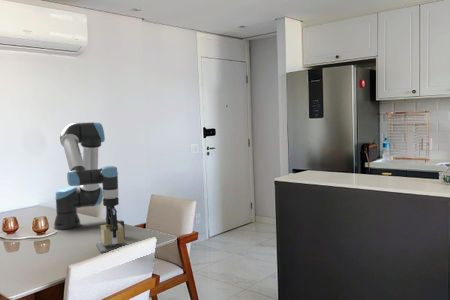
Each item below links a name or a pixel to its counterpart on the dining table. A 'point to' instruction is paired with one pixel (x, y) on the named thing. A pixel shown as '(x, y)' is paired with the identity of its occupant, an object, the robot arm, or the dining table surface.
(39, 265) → the dining table surface
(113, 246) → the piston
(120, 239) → the olive slotted box
